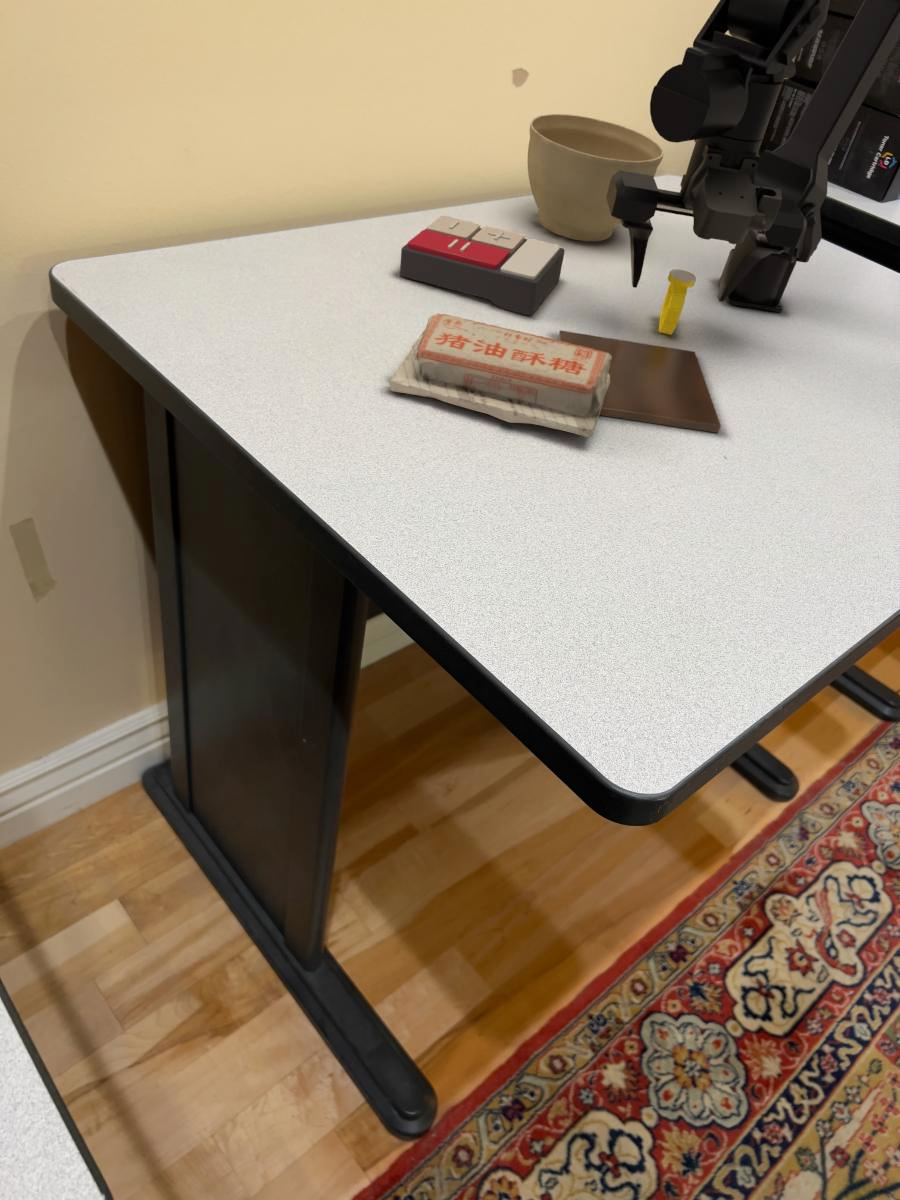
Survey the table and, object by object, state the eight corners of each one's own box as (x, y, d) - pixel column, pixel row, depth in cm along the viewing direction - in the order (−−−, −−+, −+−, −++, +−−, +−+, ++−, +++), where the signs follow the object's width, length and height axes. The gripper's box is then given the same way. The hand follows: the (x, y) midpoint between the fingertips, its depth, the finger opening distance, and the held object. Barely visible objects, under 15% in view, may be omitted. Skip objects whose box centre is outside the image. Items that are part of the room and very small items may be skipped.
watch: (652, 313, 97) (670, 260, 93) (677, 319, 97) (696, 266, 93) (651, 337, 92) (669, 282, 88) (677, 343, 92) (696, 288, 88)
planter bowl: (622, 267, 105) (650, 171, 98) (495, 229, 108) (513, 132, 100) (648, 226, 117) (675, 138, 109) (533, 193, 119) (552, 104, 112)
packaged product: (621, 338, 78) (603, 392, 71) (609, 387, 81) (590, 443, 74) (426, 294, 80) (390, 341, 73) (422, 343, 84) (387, 393, 77)
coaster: (692, 358, 90) (694, 351, 90) (718, 433, 80) (721, 425, 80) (557, 337, 89) (559, 329, 89) (566, 410, 79) (568, 402, 78)
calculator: (439, 210, 99) (567, 241, 96) (435, 249, 102) (560, 280, 99) (400, 240, 92) (538, 275, 88) (397, 281, 94) (531, 316, 91)
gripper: (644, 140, 75) (595, 313, 85) (855, 177, 76) (782, 343, 87) (629, 104, 83) (586, 266, 93) (820, 138, 84) (757, 294, 95)
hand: (677, 293), depth 92 cm, fingers open, 9 cm apart
